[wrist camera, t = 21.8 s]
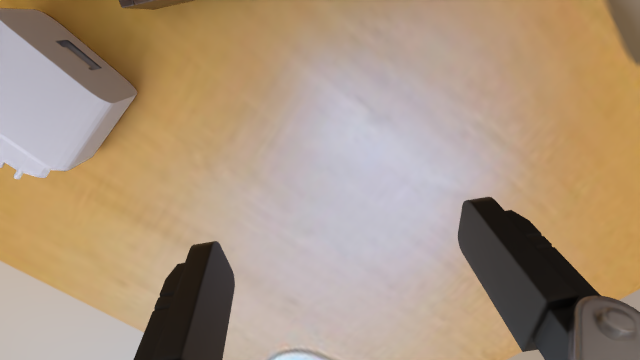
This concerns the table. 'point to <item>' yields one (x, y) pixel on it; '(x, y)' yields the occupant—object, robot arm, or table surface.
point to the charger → (53, 95)
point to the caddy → (149, 3)
